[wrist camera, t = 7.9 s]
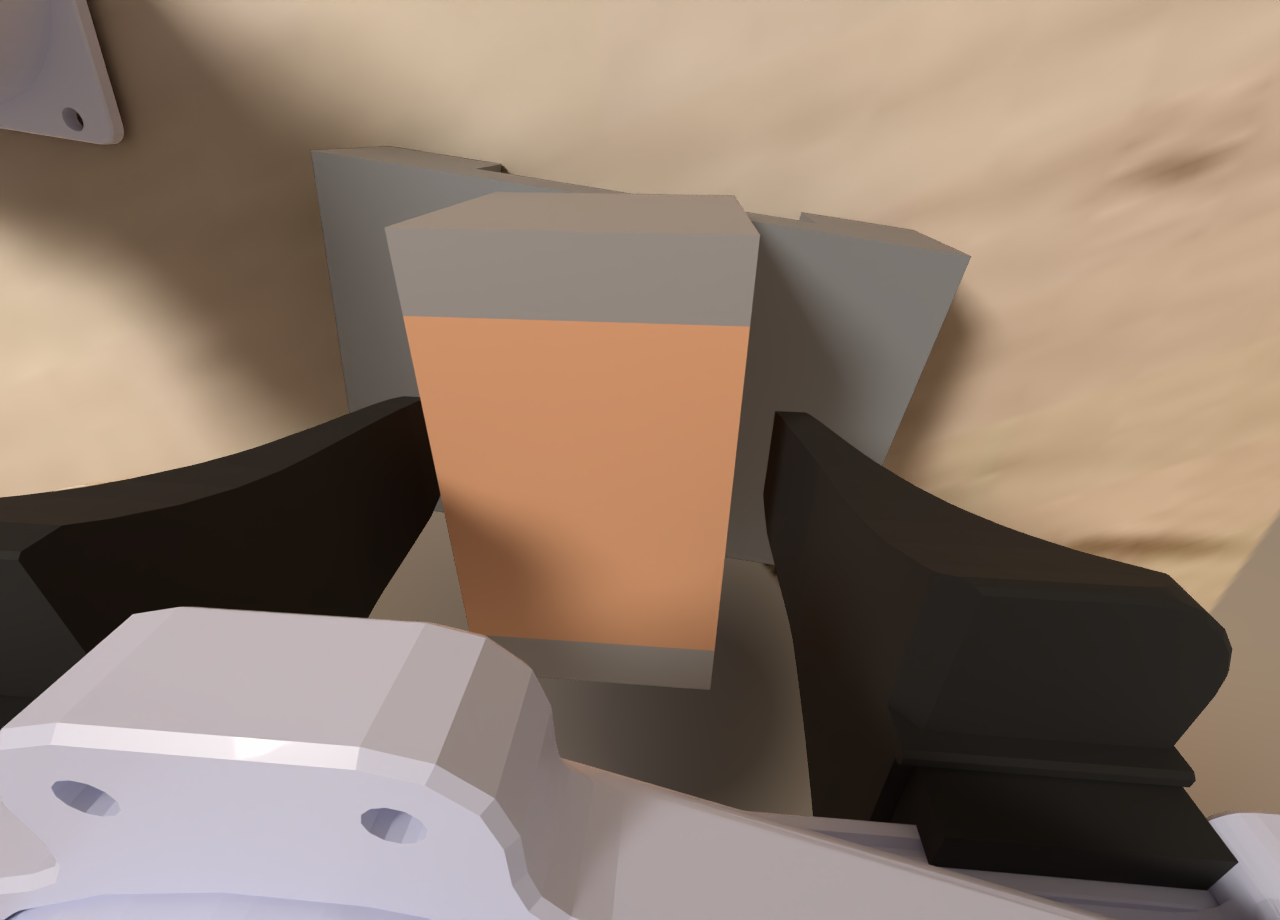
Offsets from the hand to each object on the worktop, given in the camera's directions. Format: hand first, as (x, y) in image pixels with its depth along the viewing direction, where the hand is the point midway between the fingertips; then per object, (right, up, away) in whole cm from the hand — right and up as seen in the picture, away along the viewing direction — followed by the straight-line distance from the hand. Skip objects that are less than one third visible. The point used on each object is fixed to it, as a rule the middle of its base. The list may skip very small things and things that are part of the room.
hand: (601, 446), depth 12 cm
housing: (0, +1, +2) cm, 3 cm away
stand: (0, +3, +5) cm, 6 cm away
